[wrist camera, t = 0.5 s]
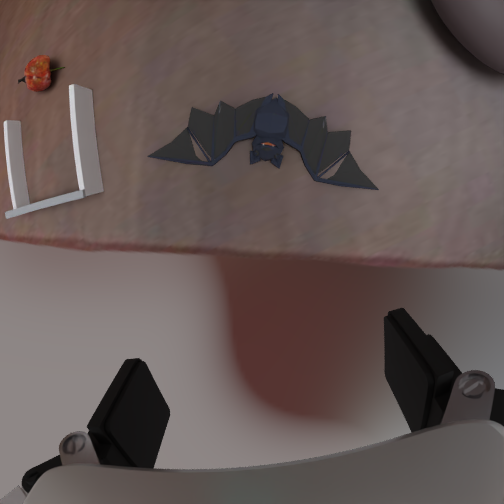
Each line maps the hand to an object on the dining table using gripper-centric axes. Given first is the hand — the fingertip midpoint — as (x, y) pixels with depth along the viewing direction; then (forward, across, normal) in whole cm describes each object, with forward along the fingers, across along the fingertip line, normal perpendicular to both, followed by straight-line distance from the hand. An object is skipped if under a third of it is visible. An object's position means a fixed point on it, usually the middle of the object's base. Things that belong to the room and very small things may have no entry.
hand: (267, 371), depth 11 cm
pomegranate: (+30, +26, -30) cm, 50 cm away
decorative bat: (+31, -3, -10) cm, 32 cm away
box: (+30, +27, -18) cm, 44 cm away
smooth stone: (+30, -41, -27) cm, 58 cm away
